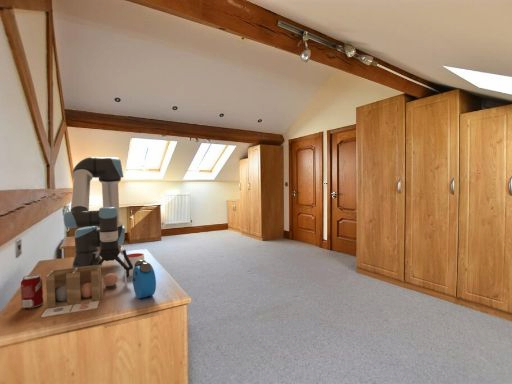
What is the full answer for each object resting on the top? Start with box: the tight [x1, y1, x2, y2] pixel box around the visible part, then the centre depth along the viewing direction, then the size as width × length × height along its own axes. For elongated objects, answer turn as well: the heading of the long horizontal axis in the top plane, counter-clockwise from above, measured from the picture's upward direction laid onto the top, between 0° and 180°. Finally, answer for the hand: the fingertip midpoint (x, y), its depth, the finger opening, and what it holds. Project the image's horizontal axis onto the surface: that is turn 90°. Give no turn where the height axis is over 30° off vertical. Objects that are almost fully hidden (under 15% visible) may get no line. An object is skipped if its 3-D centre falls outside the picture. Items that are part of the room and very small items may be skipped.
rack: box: [45, 264, 103, 309], centre depth 118 cm, size 9×18×13 cm, turn 113°
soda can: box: [20, 273, 44, 309], centre depth 114 cm, size 7×7×12 cm
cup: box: [123, 252, 145, 277], centre depth 153 cm, size 10×10×10 cm
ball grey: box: [55, 286, 67, 302], centre depth 117 cm, size 6×6×6 cm
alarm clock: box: [132, 259, 157, 299], centre depth 121 cm, size 13×6×15 cm, turn 38°
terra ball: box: [102, 272, 119, 287], centre depth 133 cm, size 6×6×6 cm
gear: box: [105, 283, 117, 290], centre depth 133 cm, size 4×4×1 cm
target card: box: [40, 301, 100, 318], centre depth 110 cm, size 7×18×1 cm, turn 113°
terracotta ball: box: [80, 283, 92, 298], centre depth 120 cm, size 6×6×6 cm
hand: (110, 286), depth 133 cm, fingers open, 12 cm apart
